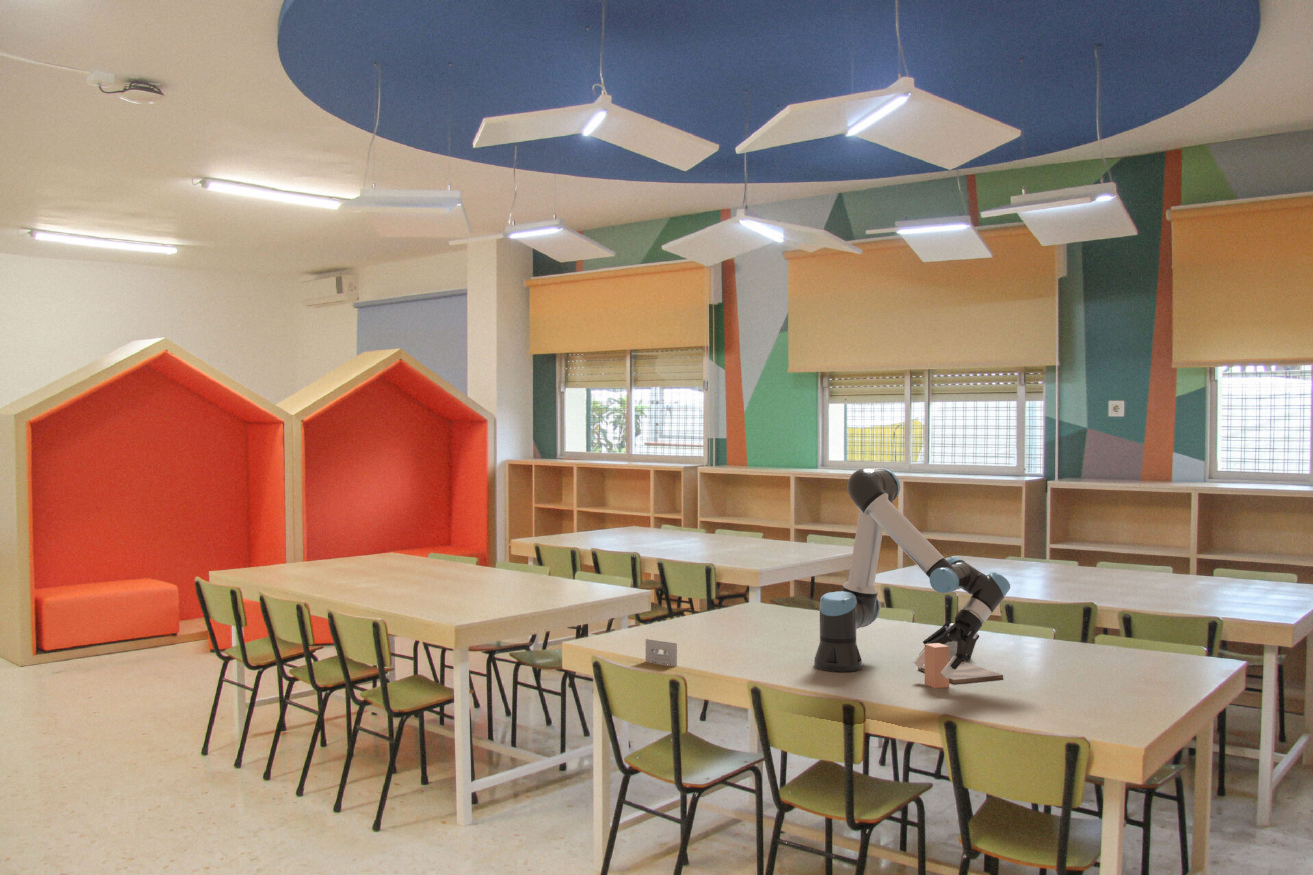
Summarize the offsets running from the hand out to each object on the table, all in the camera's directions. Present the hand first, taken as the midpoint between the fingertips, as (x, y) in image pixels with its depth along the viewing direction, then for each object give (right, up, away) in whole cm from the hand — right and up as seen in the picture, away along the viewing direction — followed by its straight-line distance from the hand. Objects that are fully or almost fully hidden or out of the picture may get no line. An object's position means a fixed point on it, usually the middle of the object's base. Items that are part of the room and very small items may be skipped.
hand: (930, 670), depth 271 cm
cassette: (-80, -5, +28) cm, 85 cm away
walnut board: (+14, -5, +14) cm, 20 cm away
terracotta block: (+2, -5, +1) cm, 5 cm away
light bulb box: (+20, -5, +36) cm, 42 cm away
